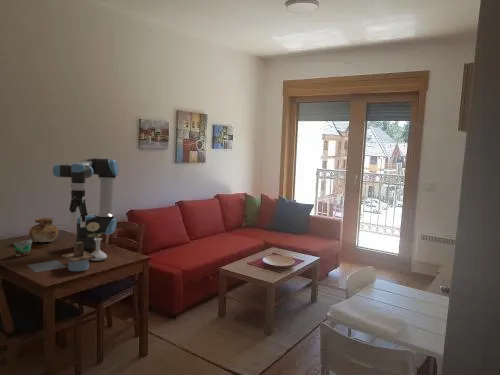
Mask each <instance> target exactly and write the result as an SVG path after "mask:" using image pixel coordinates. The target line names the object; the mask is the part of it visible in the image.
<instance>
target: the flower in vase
mask: <svg viewBox="0 0 500 375" xmlns="http://www.w3.org/2000/svg"><path fill="white" fill-rule="evenodd" d="M86 228H87V230H89V231H93V233H94V231H96V230H98V229H99V224H98V223H96V222H93V223H92V222H91V223H89V224H88V225H87V226H86ZM102 235H103V234H102V233H101V234H94V235H93V234H89V235H88V236H87V237H93V236H94V237H95V239H94V240H95V242H96V248H95V250H94V251H93V252H91V254H92V255H94V256H95V259H89V261H90V260H91V261H95V262H97V261H104V260H106V259H107V258H108V255H107V254H106V253H105V252H104V251H102V250H101V241H102V240H103V238H101V236H102Z"/></svg>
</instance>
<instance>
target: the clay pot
mask: <svg viewBox="0 0 500 375" xmlns="http://www.w3.org/2000/svg"><path fill="white" fill-rule="evenodd" d="M53 222H54V219H53V218H52V217H37V218H35V219H34V223H35V225H33V226H31V227H30V229H29V232H28V234H29V238H30V239H31V240H32V242H34V243H36V242H49V243H51V242H53V241H54V240H56V238H57V237H58V235H59V229H58V226H56V225H54V224H53Z"/></svg>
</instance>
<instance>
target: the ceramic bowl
mask: <svg viewBox="0 0 500 375" xmlns="http://www.w3.org/2000/svg"><path fill="white" fill-rule="evenodd" d="M67 264H68V265H67V266H68V267H67V269H68V271H70V272H82V271H86V270H88V269H89V268H90V259H89V260H83V261H78V262H72V263H71V262H70V261H68V260H67Z"/></svg>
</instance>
